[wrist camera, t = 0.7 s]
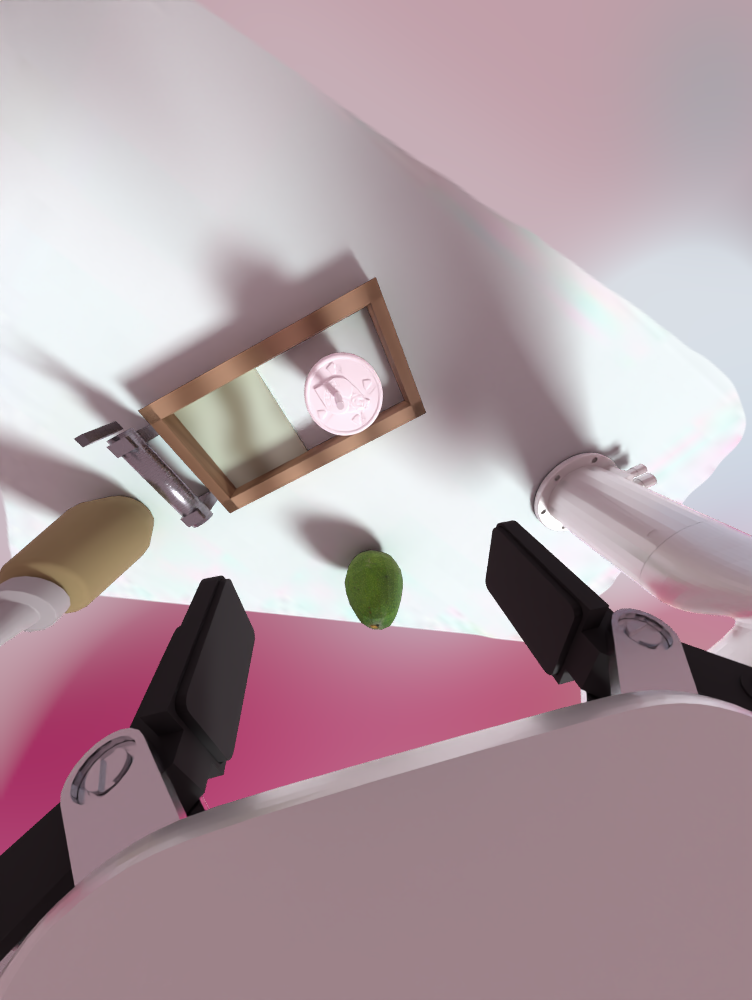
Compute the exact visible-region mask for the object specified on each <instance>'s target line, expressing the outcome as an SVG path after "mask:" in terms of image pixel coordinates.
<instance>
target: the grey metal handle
mask: <svg viewBox="0 0 752 1000" xmlns="http://www.w3.org/2000/svg"><path fill="white" fill-rule="evenodd" d="M122 429H123V428H122V427H121V426H120V425H119V424H118V423H117V422H116V421H115V422H113V423H110V424H107V425H105V426H102V427H100V428H97V429H94V430H92V431H89V432H87V433H84V434H82V435H80V436H78V437H76V438H75V440H76V441H77V442H78V443H79V444H80V445H81V446H82V447H85V446H87V445H89V444H92V443H94V442H96V441H98V440H101V439H103V438H105V437H108V436H110V435H112V434H114V433H117V432H118V431H120V430H122ZM158 435H159V434H158V433H157V431H156V430H155V429H154V428H153V427H152V426H151V425H149V426H147V427H145V428H143V429H140V430H138V431H135V430H134V429H133V428H131V429H129V430H127V431H125V432H123V433H121V434H119V435H117V436H115V437H113V438H112V439H110V440H108V441H107V443H108V444H109V445H110V446H108V447H107V448H108V449H109V450H110V451H111V452H112V453H113V454H114V455H115V456H116V457H117V458H119V457H121V456H122V457H123V458H124V459H125V460H126V461H127V462H128V463H129V464H130V465H131V466H132V467H133V468H134V469H135V470H136V471H137V472H138V473H139V474H140V475H141V476H142V477H143V478H144V479H145V480H146V481H147V482H148V483H149V484H150V485H151V486H152V487H153V488H154V489H155V490H156V491H157V492H158V493H159V494H160V495H161V496H162V497H163V498H164V499H165V500H166V501H167V502H168V503H169V504H170V505H171V506H172V507H173V508H174V509H175V510H176V511H177V512H178V513H179V514H180V515H181V516H182V518H181V520H182V521H183V522H184V523H185V524H186V525H187V526H188V527H190V526H193V527H194V528H195V527H198V526H200V525H202V524H203V523H205V522H206V521H207V520H208V519H210V517H211V516H212V515H213V513H212V512H211V511H210V510H211V509H212V507H213V506H214V504H215V503H216V501H217V500H218V499H217V498H216V497H215V496H214V495H213V494H212V493H211V492H210V491H209V492H207V493H205V494H204V495H202V496H200V497H197V496H196V495H195V494H194V493H193V492H192V491H191V490H190V489H189V487H188V486H187V485H186V484H185V483H184V482H183V481H182V480H181V479H180V478H179V477H178V476H177V475H176V474H175V473H174V471H173V470H172V469H171V468H170V467H169V466H168V465H167V464H166V463H165V462H164V461H163V460H162V459H161V458H160V457H159V455H158V454H157V453H156V452H155V451H154V450H153V449H152V448H151V447H150V446H149V445H148V444H147V443H146V442H148V441H149V440H151V439H153V438H155V437H156V436H158Z"/></svg>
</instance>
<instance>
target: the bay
mask: <svg viewBox="0 0 752 1000" xmlns="http://www.w3.org/2000/svg"><path fill="white" fill-rule="evenodd" d="M366 306H367V309H368V311H369V314H370V316H371V318H372V321H373V323H374V326H375V328H376V331H377V333H378V336H379V338H380V341H381V343H382V346H383V348H384V351H385V353H386V356H387V358H388V361H389V363H390V366H391V368H392V371H393V373H394V376H395V378H396V381H397V383H398V386H399V388H400V391H401V393H402V396H403V398H404V401H402V402H400V403H398V404H396V405H394V406H393V407H391V408H389V409H387V410H385V411H383V412H381V413H379V414H378V416H377V418H376V419H375V421H374V422H373V423H372V424H371V425H370V426H369V427H368V428H366V429H365V430H363V431H361V432H359V433H357V434H353V435H337V436H335V437H333V438H331V439H329V440H327V441H325V442H323V443H321V444H319V445H317V446H316V447H314V448H312V449H310V450H308V451H307V449H306V448H305V446H304V444H303V443H302V441H301V440H300V438H299V437H298V435H297V433H296V432H295V430H294V429H293V427H292V425H291V424H290V422H289V421H288V419H287V418H286V416H285V414H284V413H283V411H282V410H281V408H280V407H279V405H278V403H277V402H276V400H275V399H274V397H273V395H272V394H271V392H270V391H269V389H268V388H267V386H266V384H265V383H264V381H263V380H262V378H261V377H260V375H259V373H258V372H257V370H256V369H255V368H256V367H258V366H260V365H262V364H263V363H265V362H267V361H269V360H271V359H272V358H274V357H276V356H278V355H280V354H281V353H283V352H285V351H287V350H289V349H290V348H292V347H294V346H296V345H298V344H299V343H301V342H303V341H305V340H307V339H308V338H310V337H312V336H314V335H316V334H317V333H319V332H321V331H323V330H325V329H326V328H328V327H330V326H332V325H334V324H335V323H337V322H339V321H341V320H343V319H344V318H346V317H348V316H350V315H352V314H353V313H355V312H357V311H359V310H361V309H362V308H364V307H366ZM138 411H139V413H140V414H141V415H142V416H143V417H144V418H145V419H146V420H147V421H148V423H149V424H150V425H151V426H152V427H153V428H154V429H155V430H156V431H157V433H158V434H159V435H160V436H161V437H162V438H163V439H164V440H165V442H166V443H167V444H168V445H169V446H170V447H171V448H172V449H173V450H174V452H175V453H176V454H177V455H178V456H179V457H180V458H181V459H182V460H183V462H184V463H185V464H186V465H187V466H188V467H189V468H190V469H191V470H192V472H193V473H194V474H195V475H196V476H197V477H198V478H199V479H200V480H201V482H202V483H203V484H204V485H205V486H206V487H207V488H208V489H209V490H210V492H211V493H212V494H213V495H214V496H215V497H216V498H217V499H218V501H219V502H220V503H221V504H222V505H223V506H224V507H225V508H226V509H227V511H228V512H229V513H232V512H234V511H235V510H237V509H239V508H241V507H243V506H245V505H247V504H249V503H251V502H253V501H255V500H257V499H259V498H261V497H263V496H265V495H267V494H269V493H271V492H273V491H275V490H276V489H278V488H280V487H282V486H284V485H286V484H288V483H290V482H292V481H294V480H296V479H298V478H300V477H302V476H304V475H306V474H308V473H310V472H312V471H314V470H315V469H317V468H319V467H321V466H323V465H325V464H327V463H329V462H331V461H333V460H335V459H337V458H339V457H341V456H343V455H345V454H347V453H349V452H351V451H353V450H355V449H356V448H358V447H360V446H362V445H364V444H366V443H368V442H370V441H372V440H374V439H376V438H378V437H380V436H382V435H384V434H386V433H388V432H390V431H392V430H394V429H395V428H397V427H399V426H401V425H403V424H405V423H407V422H409V421H411V420H413V419H415V418H417V417H419V416H421V415H423V414H425V413H426V411H425V409H424V406H423V403H422V401H421V398H420V395H419V393H418V390H417V387H416V384H415V382H414V379H413V376H412V374H411V371H410V368H409V366H408V363H407V360H406V357H405V355H404V352H403V349H402V347H401V344H400V341H399V339H398V336H397V333H396V331H395V328H394V325H393V322H392V320H391V317H390V314H389V312H388V309H387V306H386V304H385V301H384V298H383V295H382V293H381V290H380V287H379V285H378V282H377V279H376V277H375V278H373V279H371V280H370V281H368V282H366V283H364V284H363V285H361V286H359V287H357V288H355V289H354V290H352V291H350V292H348V293H347V294H345V295H343V296H341V297H339V298H338V299H336V300H334V301H332V302H330V303H329V304H327V305H325V306H323V307H322V308H320V309H318V310H316V311H314V312H313V313H311V314H309V315H307V316H306V317H304V318H302V319H300V320H298V321H297V322H295V323H293V324H291V325H290V326H288V327H286V328H284V329H282V330H281V331H279V332H277V333H275V334H274V335H272V336H270V337H268V338H266V339H265V340H263V341H261V342H259V343H258V344H256V345H254V346H252V347H250V348H249V349H247V350H245V351H243V352H242V353H240V354H238V355H236V356H234V357H233V358H231V359H229V360H227V361H226V362H224V363H222V364H220V365H218V366H217V367H215V368H213V369H211V370H210V371H208V372H206V373H204V374H202V375H201V376H199V377H197V378H195V379H194V380H192V381H190V382H188V383H186V384H185V385H183V386H181V387H179V388H178V389H176V390H174V391H172V392H170V393H169V394H167V395H165V396H163V397H162V398H160V399H158V400H156V401H154V402H153V403H151V404H149V405H147V406H146V407H144V408H142V409H140V410H138Z"/></svg>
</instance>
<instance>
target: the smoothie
mask: <svg viewBox="0 0 752 1000" xmlns="http://www.w3.org/2000/svg"><path fill="white" fill-rule="evenodd" d="M304 396H305V403H306V407H307V409H308V412H309V414H310V415H311V417H312V419H313V420H314V421H315V422H316V423H317V424H318V425H319V426H320V427H321V428H323V429H324V430H326V431H328V432H330V433H333V434H336V435H353V434H357V433H359V432H361V431H363V430H365V429H366V428H368V427H369V426H370V425H371V424H372V423H373V422H374V421H375V419H376V418H377V416H378V414H379V412H380V409H381V406H382V400H383V391H382V385H381V382H380V379H379V377H378V375H377V373H376V372H375V370H374V369H373V367H372V366H371V365H370V364H369V363H368V362H366V361H365V360H364V359H363V358H361V357H359V356H357V355H355V354H350V353H345V352H341V353H332V354H330V355H328V356H325V357H323V358H322V359H320V360H319V361H318V362H317V363H316V364H315V365H314V366H313V367H312V369H311V370H310V372H309V373H308V376H307V379H306V382H305V390H304Z"/></svg>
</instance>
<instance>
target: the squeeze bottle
mask: <svg viewBox="0 0 752 1000" xmlns="http://www.w3.org/2000/svg"><path fill="white" fill-rule="evenodd" d="M153 526H154V518H153V516H152V514H151V512H150V510H149V509H148V508H147V507H146V506H145V505H144V504H143V503H141V502H139V501H137V500H135V499H133V498H129V497H124V496H111V497H106V498H101V499H97V500H92V501H88V502H83V503H80V504H78V505H76V506H74V507H72V508H70V509H69V510H67V511H66V512H65V513H64V514H63V515H61V516H60V517H59V518H58V519H57V520H56V521H54V522H53V523H52V524H51V525H50V526H49V527H48V528H46V529H45V530H44V531H43V532H42V533H41V534H39V535H38V536H37V537H36V538H35V539H34V540H33V541H31V542H30V543H29V544H28V545H27V546H26V547H24V548H23V549H22V550H21V551H20V552H19V553H18V554H16V555H15V556H14V557H13V558H12V559H11V560H9V561H8V562H7V563H6V564H5V565H4V566H3V567H2V569H1V571H0V646H2V645H3V644H5V643H6V642H8V641H9V640H11V639H12V638H14V637H15V636H17V635H18V634H20V633H21V632H23V631H28V632H32V631H39V630H45V629H46V628H49V627H51V626H53V625H54V624H55V623H56V622H57V621H58V620H59V619H60V617H61V616H62V615H63V614H64V613H71V612H76V611H78V610H80V609H82V608H84V607H86V606H87V605H89V604H90V603H91V602H92V601H93V600H94V599H95V598H96V597H97V596H99V595H100V594H101V593H102V592H103V591H104V590H105V589H106V588H107V587H108V586H110V585H111V584H112V583H113V582H114V581H115V580H116V579H117V578H118V577H119V576H120V575H122V574H123V573H124V572H125V571H126V570H127V569H128V568H129V567H130V566H131V565H132V564H134V563H135V562H136V561H137V560H138V559H139V558H140V557H141V556H142V555H143V554H144V553H145V551H146V550H147V548H148V547H149V545H150V540H151V536H152V531H153Z"/></svg>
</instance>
